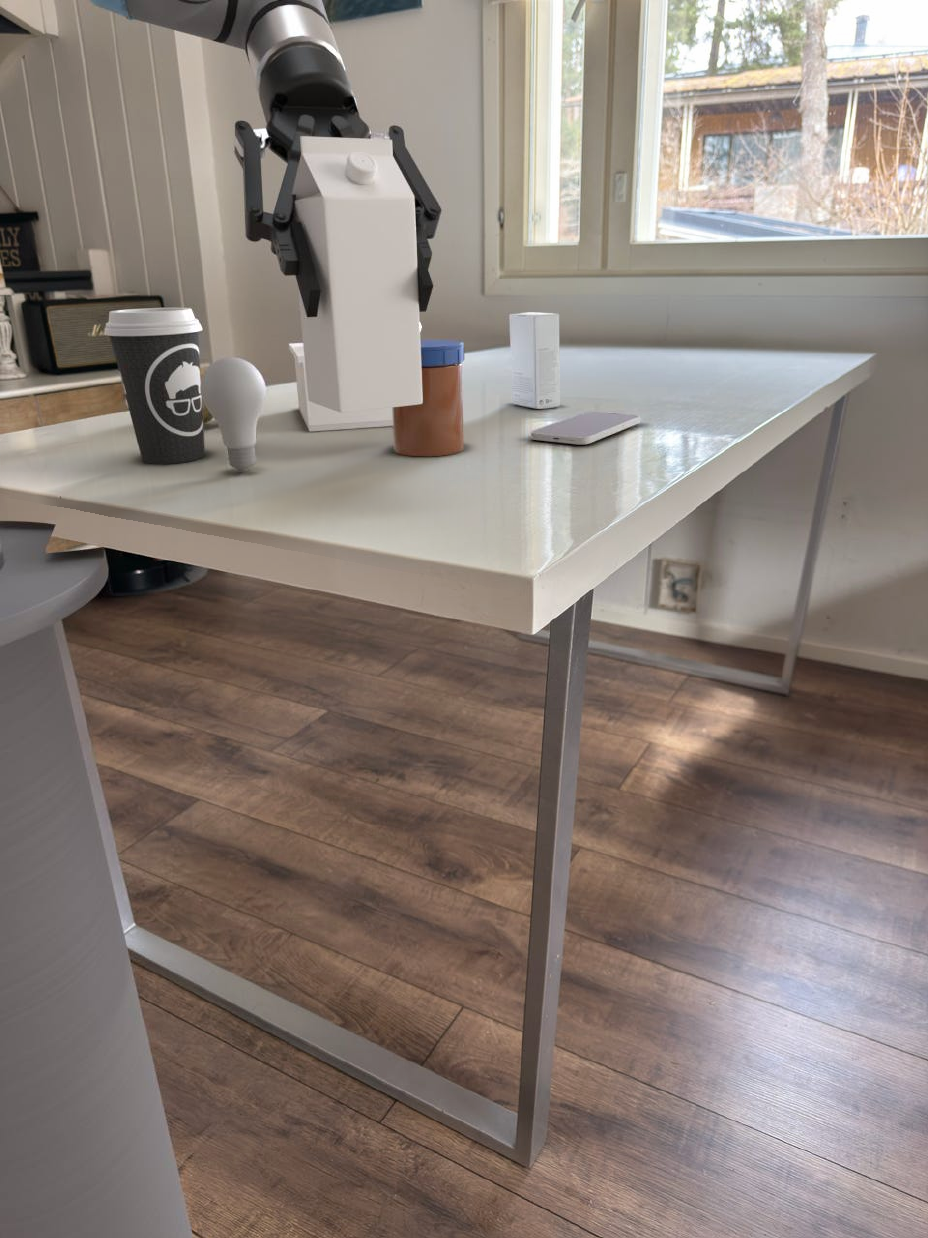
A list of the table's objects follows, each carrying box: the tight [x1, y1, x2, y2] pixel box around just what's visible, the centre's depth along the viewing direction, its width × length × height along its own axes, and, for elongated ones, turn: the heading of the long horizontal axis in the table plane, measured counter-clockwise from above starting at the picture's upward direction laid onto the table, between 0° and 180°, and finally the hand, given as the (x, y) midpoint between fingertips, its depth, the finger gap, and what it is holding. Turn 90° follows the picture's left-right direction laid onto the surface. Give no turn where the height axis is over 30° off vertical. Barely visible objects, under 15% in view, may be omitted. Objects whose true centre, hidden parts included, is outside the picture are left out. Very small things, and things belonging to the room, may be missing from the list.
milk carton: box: [292, 136, 423, 413], centre depth 66 cm, size 7×7×19 cm
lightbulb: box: [200, 356, 267, 473], centre depth 84 cm, size 6×6×11 cm
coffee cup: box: [103, 307, 206, 465], centre depth 90 cm, size 10×10×15 cm
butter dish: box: [288, 322, 422, 433], centre depth 112 cm, size 18×18×16 cm
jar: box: [392, 362, 465, 458], centre depth 92 cm, size 8×8×11 cm
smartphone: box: [530, 410, 641, 445], centre depth 100 cm, size 7×1×15 cm
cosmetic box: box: [508, 311, 561, 410], centre depth 116 cm, size 6×4×12 cm
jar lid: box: [420, 339, 465, 366], centre depth 90 cm, size 8×8×2 cm
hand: (370, 301), depth 64 cm, fingers closed on milk carton, 8 cm apart
